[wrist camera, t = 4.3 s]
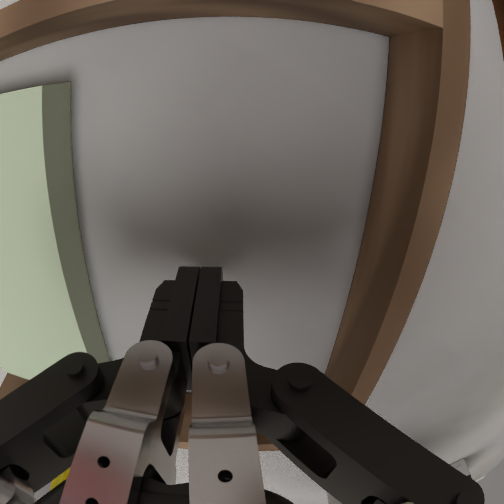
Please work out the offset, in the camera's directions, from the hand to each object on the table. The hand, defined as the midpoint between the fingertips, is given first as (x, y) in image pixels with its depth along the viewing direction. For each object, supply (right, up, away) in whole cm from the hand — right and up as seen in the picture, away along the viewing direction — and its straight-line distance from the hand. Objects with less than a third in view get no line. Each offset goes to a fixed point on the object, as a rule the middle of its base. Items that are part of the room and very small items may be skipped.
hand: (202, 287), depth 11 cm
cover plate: (-10, +1, +2) cm, 10 cm away
